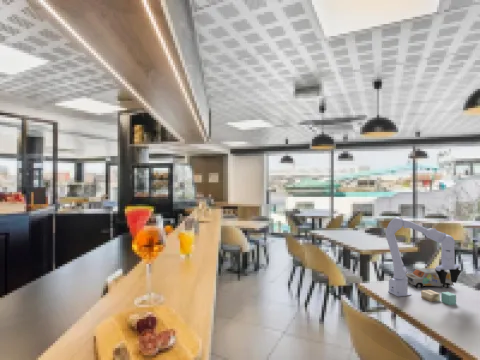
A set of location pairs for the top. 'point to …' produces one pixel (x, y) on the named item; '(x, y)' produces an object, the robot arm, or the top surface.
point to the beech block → (430, 295)
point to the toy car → (428, 278)
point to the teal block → (448, 298)
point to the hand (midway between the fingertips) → (448, 283)
